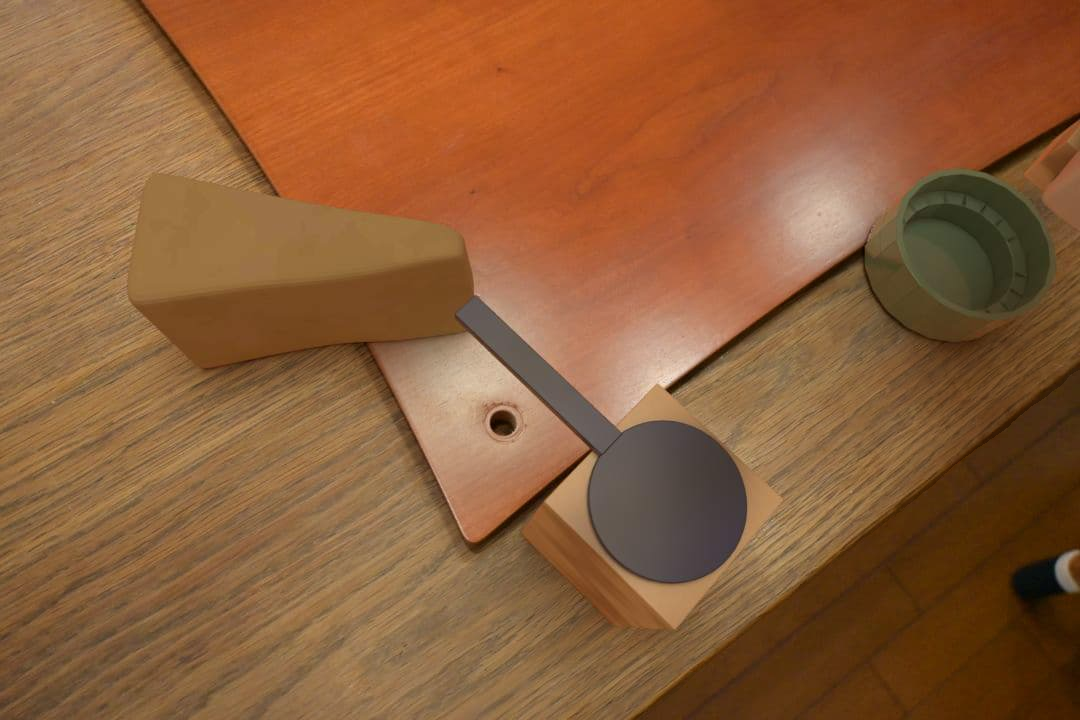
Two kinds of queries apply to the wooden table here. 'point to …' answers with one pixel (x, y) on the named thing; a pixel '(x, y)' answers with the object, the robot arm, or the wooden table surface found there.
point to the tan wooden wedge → (287, 272)
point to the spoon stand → (634, 494)
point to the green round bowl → (960, 255)
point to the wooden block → (1054, 157)
